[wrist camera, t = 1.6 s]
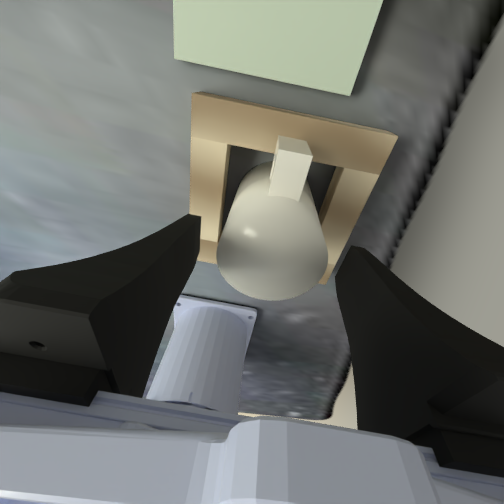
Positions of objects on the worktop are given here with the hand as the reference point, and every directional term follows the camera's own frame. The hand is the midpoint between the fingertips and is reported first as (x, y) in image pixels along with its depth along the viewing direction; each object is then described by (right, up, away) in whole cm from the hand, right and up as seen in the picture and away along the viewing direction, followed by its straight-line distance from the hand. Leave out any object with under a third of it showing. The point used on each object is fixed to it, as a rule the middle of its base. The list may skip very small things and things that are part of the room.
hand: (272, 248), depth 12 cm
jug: (0, +3, +5) cm, 6 cm away
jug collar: (0, +3, +5) cm, 6 cm away
